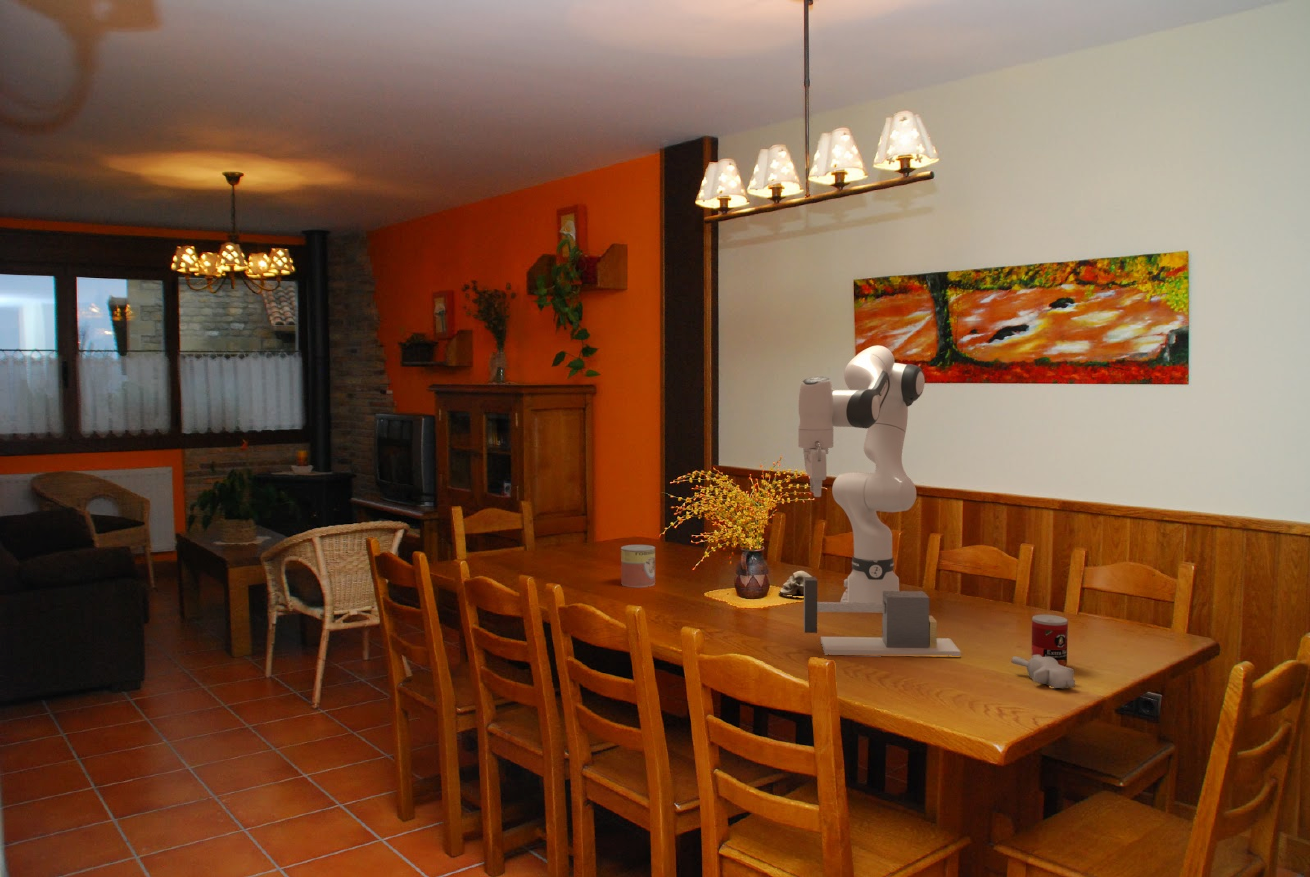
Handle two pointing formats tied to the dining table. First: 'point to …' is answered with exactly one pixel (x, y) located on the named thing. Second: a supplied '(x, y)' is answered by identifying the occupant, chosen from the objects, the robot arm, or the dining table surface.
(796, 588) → the skull
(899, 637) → the block
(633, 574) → the canned food
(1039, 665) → the bunny figurine
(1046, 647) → the canned food
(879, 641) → the base plate
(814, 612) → the shaft
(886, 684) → the dining table surface
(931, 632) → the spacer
